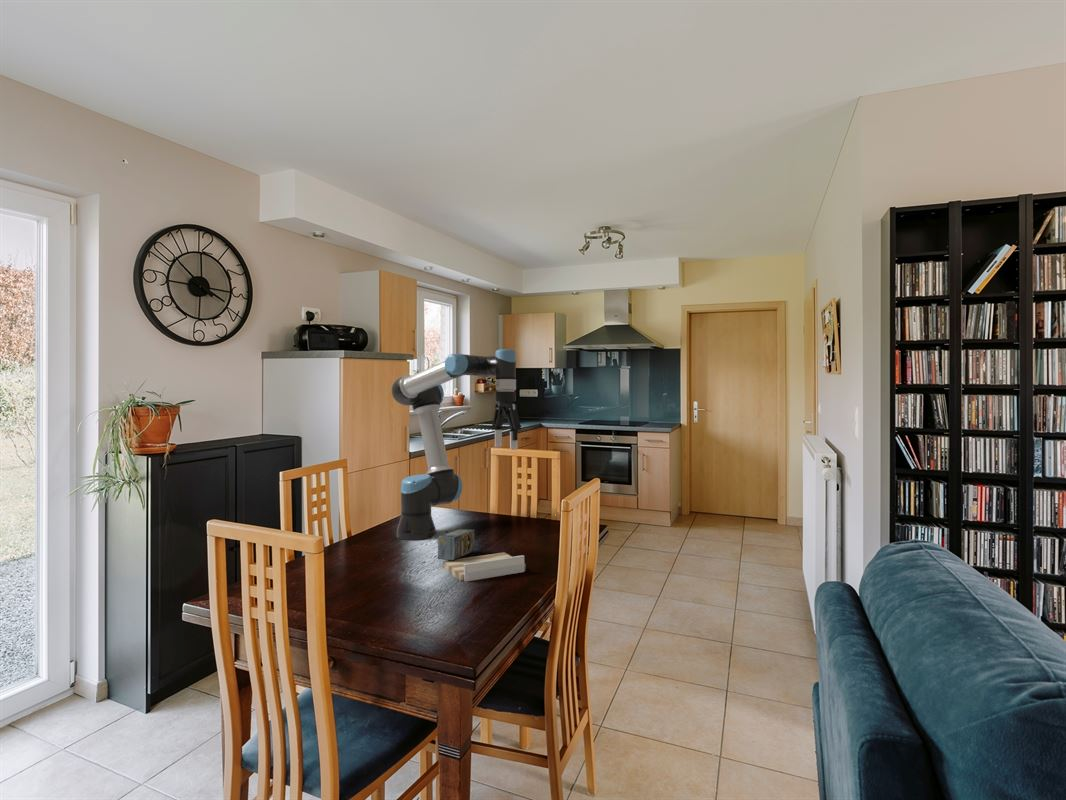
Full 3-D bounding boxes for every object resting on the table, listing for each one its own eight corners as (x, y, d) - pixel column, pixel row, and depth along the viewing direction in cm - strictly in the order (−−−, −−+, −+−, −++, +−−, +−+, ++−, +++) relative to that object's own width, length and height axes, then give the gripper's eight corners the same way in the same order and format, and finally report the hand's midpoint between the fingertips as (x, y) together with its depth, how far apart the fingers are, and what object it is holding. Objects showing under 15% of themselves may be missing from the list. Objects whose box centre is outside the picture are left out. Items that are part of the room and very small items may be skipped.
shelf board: (443, 567, 179) (443, 561, 179) (504, 558, 189) (504, 552, 189) (460, 581, 165) (460, 574, 165) (525, 570, 175) (525, 564, 175)
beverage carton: (453, 562, 178) (434, 560, 179) (475, 552, 196) (457, 550, 198) (454, 536, 178) (436, 535, 180) (476, 529, 197) (459, 528, 199)
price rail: (463, 580, 165) (463, 564, 165) (522, 571, 175) (522, 555, 175) (465, 581, 164) (465, 565, 164) (524, 572, 174) (524, 556, 174)
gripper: (483, 391, 214) (483, 446, 213) (511, 390, 192) (511, 451, 191) (501, 391, 217) (501, 445, 217) (530, 390, 195) (530, 450, 195)
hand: (505, 448), depth 204 cm, fingers open, 13 cm apart
